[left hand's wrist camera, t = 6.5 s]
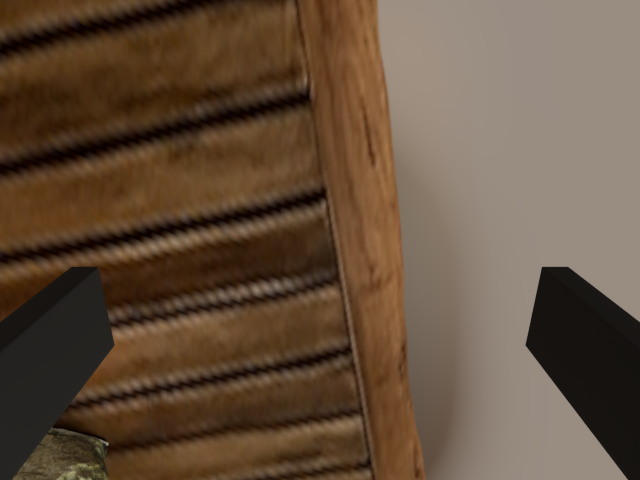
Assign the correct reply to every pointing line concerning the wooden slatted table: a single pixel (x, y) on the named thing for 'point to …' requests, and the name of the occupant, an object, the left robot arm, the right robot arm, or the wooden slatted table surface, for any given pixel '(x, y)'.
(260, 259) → the wooden slatted table surface
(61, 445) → the fossil
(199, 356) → the wooden slatted table surface
